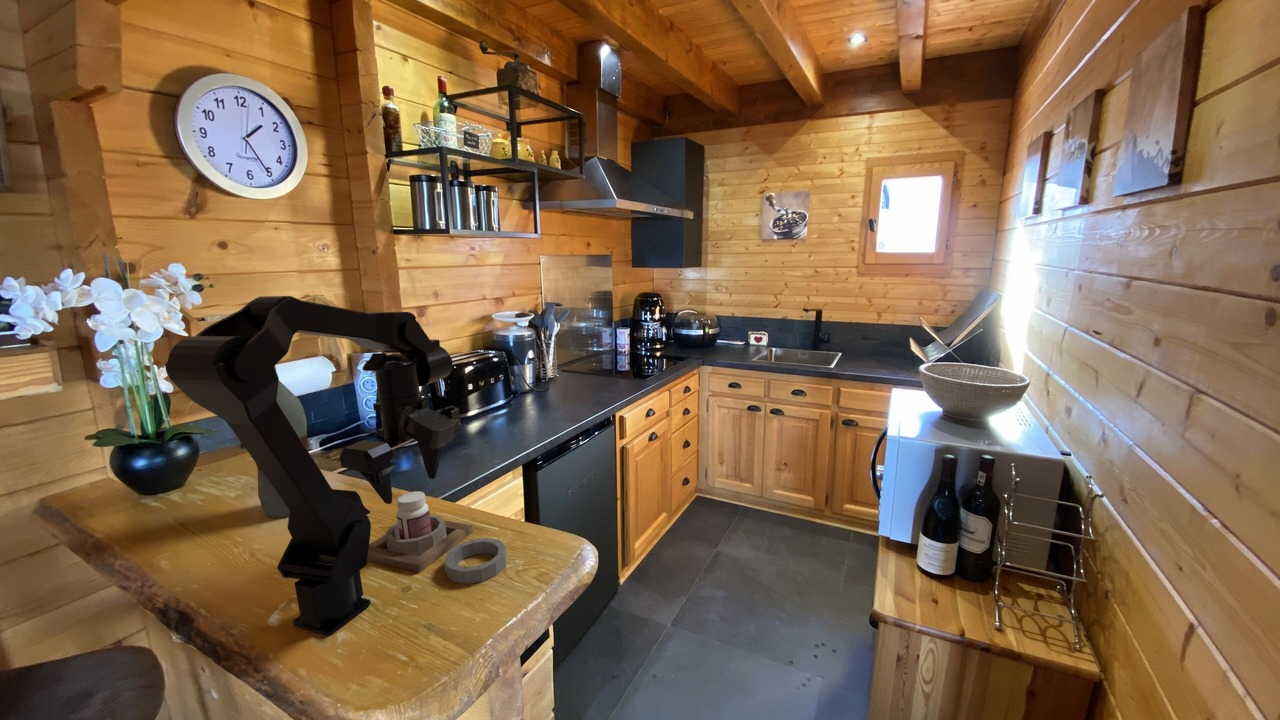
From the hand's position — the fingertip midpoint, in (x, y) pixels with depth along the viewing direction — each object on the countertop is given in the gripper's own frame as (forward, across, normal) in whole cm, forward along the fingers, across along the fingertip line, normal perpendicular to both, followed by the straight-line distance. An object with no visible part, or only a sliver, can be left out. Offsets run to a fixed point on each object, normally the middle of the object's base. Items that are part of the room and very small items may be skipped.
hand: (411, 490), depth 83 cm
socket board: (+9, 0, 0) cm, 9 cm away
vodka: (+10, +3, +33) cm, 34 cm away
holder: (+9, -2, -13) cm, 16 cm away
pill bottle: (+10, 0, 0) cm, 10 cm away
